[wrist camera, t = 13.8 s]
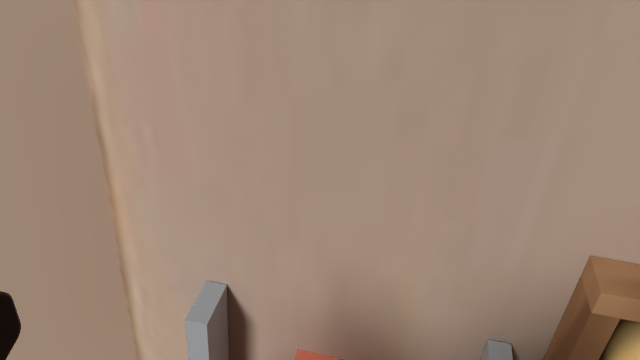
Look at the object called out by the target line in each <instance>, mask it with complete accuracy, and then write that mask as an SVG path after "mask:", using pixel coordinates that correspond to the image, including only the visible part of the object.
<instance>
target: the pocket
mask: <svg viewBox="0 0 640 360" xmlns="http://www.w3.org/2000/svg"><path fill="white" fill-rule="evenodd" d="M185 326H186V337H187V348H188V359H189V360H229V340H228V306H227V285H225V284H220V283H215V282H210V281H206V283H205V284H204V286H203V288H202V290H201V292H200V294H199V295H198V297H197V299H196V301H195V303H194V304H193V306H192V308H191V310H190V312H189V314H188V315H187V317H186V319H185ZM481 360H513V357H512V347H511V344H508V343H503V342H498V341H493V340H489V339H488V341H487V343H486V346H485V349H484V352H483V354H482V357H481Z"/></svg>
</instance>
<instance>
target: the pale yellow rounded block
mask: <svg viewBox="0 0 640 360" xmlns="http://www.w3.org/2000/svg"><path fill="white" fill-rule="evenodd" d="M599 360H640V322H635V321H630V320H625V319H623V320H621V321H619V323H618V324H617V326H616V328H615V330H614V332H613V334H612V336H611V337H610V339H609V341H608V343H607V345H606V347H605V349H604V350H603V352H602V354H601V356H600V358H599Z"/></svg>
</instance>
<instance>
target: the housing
mask: <svg viewBox="0 0 640 360" xmlns="http://www.w3.org/2000/svg"><path fill="white" fill-rule="evenodd" d="M620 319H625V320H630V321H635V322H640V265H637V264H632V263H627V262H621V261H616V260H610V259H605V258H599V257H594V256H590V257H589V259H588V262H587V264H586V266H585V268H584V270H583V273H582V275H581V277H580V279H579V281H578V284H577V286H576V288H575V290H574V292H573V295H572V297H571V299H570V301H569V303H568V306H567V308H566V310H565V312H564V315H563V317H562V319H561V321H560V323H559V326H558V328H557V330H556V332H555V334H554V337H553V339H552V341H551V343H550V345H549V348H548V350H547V352H546V354H545V356H544V359H543V360H599V358H600V356H601V354H602V352H603V350H604V349H605V347H606V345H607V343H608V341H609V339H610V337H611V336H612V334H613V332H614V330H615V328H616V326H617V324H618V323H619V321H620Z"/></svg>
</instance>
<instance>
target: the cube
mask: <svg viewBox="0 0 640 360" xmlns="http://www.w3.org/2000/svg"><path fill="white" fill-rule="evenodd" d="M295 360H342V359H338V358H333V357H329V356H325V355H320V354H316V353H312V352H307V351H303V350H299V349H298V350H297V354H296V357H295Z"/></svg>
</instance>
